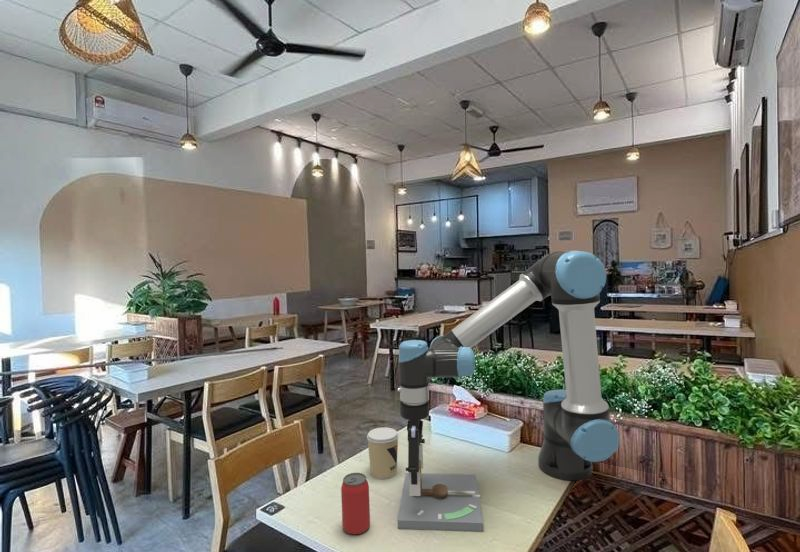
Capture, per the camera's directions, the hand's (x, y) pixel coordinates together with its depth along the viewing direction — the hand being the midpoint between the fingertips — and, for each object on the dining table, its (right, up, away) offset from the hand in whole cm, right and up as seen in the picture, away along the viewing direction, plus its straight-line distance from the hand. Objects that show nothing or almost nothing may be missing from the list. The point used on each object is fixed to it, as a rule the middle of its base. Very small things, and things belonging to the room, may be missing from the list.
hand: (416, 480), depth 111 cm
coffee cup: (-9, -6, +16) cm, 20 cm away
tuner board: (+6, -6, 0) cm, 8 cm away
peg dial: (+6, -3, 0) cm, 7 cm away
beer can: (-15, -7, -9) cm, 19 cm away
